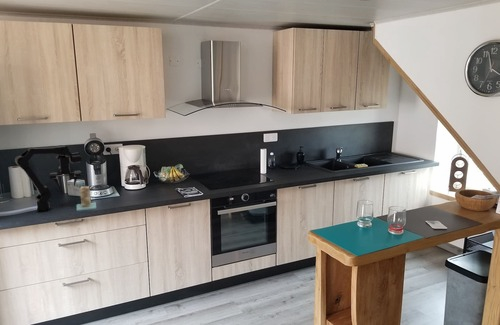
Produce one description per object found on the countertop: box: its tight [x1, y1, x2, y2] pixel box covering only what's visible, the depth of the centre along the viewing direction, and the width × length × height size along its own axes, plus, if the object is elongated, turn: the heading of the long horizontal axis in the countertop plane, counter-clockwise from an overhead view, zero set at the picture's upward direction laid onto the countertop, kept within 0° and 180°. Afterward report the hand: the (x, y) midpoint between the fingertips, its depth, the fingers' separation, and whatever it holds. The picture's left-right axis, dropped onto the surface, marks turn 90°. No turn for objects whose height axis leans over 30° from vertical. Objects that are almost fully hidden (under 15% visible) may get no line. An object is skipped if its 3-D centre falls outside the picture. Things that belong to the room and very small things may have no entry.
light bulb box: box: [66, 178, 86, 197], centre depth 285 cm, size 11×7×11 cm, turn 75°
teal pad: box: [76, 201, 97, 212], centre depth 258 cm, size 12×12×1 cm
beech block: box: [80, 185, 92, 207], centre depth 257 cm, size 5×5×13 cm
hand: (67, 186), depth 259 cm, fingers open, 9 cm apart
